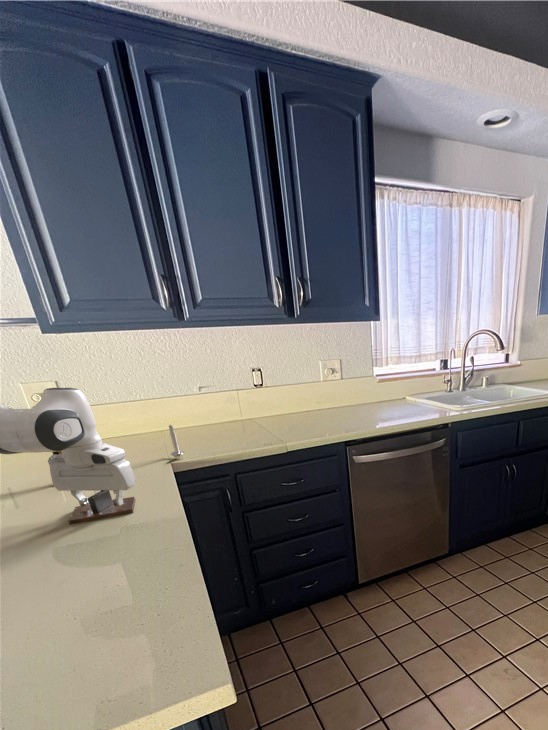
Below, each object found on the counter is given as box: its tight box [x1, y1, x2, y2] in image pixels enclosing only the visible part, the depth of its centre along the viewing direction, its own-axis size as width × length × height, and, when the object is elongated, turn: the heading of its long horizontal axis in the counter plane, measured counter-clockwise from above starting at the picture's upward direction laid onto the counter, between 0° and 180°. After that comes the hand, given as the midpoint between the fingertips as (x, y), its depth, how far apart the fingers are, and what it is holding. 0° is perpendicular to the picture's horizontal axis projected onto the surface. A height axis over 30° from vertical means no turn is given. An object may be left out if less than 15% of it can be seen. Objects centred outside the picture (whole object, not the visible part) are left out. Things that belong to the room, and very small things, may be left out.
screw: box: [168, 424, 185, 461], centre depth 159 cm, size 13×5×5 cm
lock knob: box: [87, 490, 113, 512], centre depth 111 cm, size 6×2×4 cm, turn 175°
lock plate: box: [68, 496, 136, 526], centre depth 112 cm, size 14×10×3 cm
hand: (102, 505), depth 112 cm, fingers open, 8 cm apart
